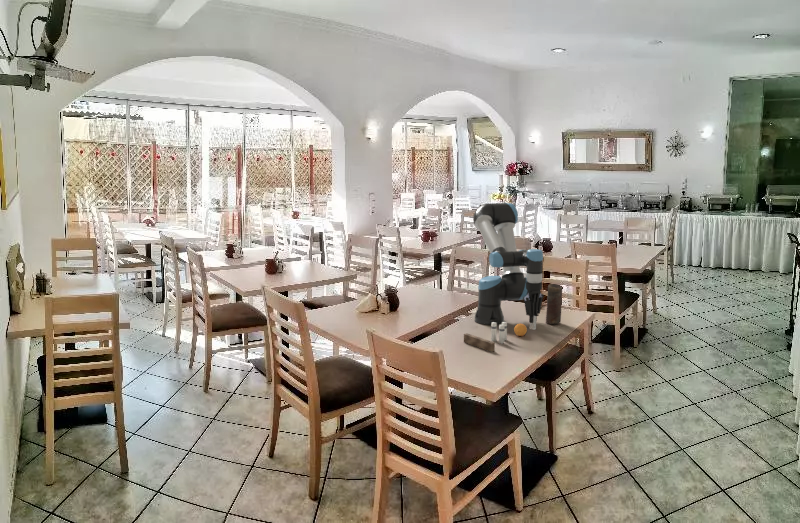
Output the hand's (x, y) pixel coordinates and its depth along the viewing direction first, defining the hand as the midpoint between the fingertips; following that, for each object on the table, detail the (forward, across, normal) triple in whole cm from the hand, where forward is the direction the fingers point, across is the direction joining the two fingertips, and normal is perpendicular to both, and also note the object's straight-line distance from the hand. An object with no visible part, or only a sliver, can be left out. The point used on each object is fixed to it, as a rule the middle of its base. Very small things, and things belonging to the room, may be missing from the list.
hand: (532, 328), depth 289 cm
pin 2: (+2, +24, +2) cm, 24 cm away
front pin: (+2, +20, 0) cm, 20 cm away
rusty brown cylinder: (+2, -21, -4) cm, 21 cm away
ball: (-1, +9, 0) cm, 9 cm away
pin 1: (+2, +24, -3) cm, 24 cm away
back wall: (+2, +36, -1) cm, 36 cm away
